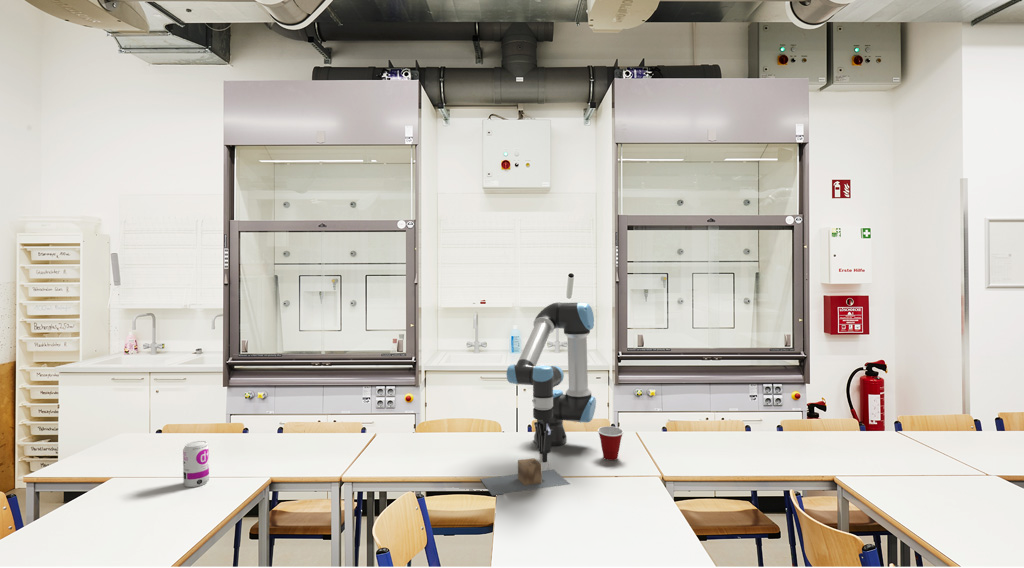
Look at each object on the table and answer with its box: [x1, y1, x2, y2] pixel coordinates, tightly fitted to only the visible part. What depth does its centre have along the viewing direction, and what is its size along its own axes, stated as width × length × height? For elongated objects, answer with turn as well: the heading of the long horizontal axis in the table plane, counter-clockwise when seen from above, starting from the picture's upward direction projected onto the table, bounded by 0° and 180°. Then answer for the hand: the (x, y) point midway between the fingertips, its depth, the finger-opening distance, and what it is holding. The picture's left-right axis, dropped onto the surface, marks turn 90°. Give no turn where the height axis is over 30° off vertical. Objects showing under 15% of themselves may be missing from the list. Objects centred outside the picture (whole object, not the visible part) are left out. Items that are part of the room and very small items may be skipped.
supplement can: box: [182, 440, 210, 488], centre depth 204 cm, size 8×8×15 cm
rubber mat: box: [479, 469, 571, 496], centre depth 204 cm, size 30×16×1 cm, turn 108°
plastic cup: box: [597, 425, 624, 461], centre depth 230 cm, size 11×11×12 cm
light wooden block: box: [517, 457, 542, 485], centre depth 204 cm, size 7×7×7 cm
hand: (543, 469), depth 206 cm, fingers closed
